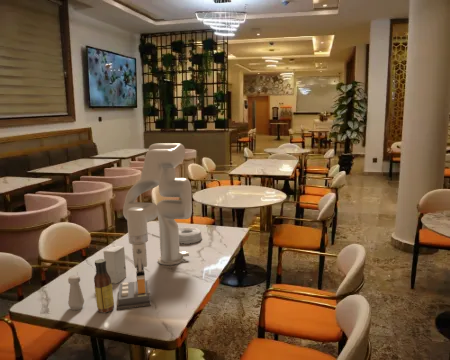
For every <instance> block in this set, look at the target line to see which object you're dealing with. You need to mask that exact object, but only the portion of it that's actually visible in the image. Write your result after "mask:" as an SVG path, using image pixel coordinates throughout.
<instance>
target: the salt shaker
mask: <svg viewBox="0 0 450 360" xmlns="http://www.w3.org/2000/svg"><path fill="white" fill-rule="evenodd" d="M80 281H81V276H80V275H78V274H75V275H74V274H72V275H71V276H69V277H68V279H67V283H68V284H70V285H69V293H68V294H69V295H68V302H67V303H68V306H69V308H70V310H71V311H75V312H76V311H78V310H81V309H82V308H83V307H84V304H85V298H84V295H83V292H82V289H81V285H80Z"/></svg>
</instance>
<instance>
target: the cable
mask: <svg viewBox="0 0 450 360" xmlns="http://www.w3.org/2000/svg"><path fill="white" fill-rule="evenodd" d="M178 228H179V244H182V243H184V244H185V245H189V244H190V243H191V244H194V243H198V242H200V241H202V239H203V235H202V231H201V229H199V228H196V227H191V226H190V227H185V226H181V227H178ZM184 244H183V245H184ZM191 244H190V245H191Z"/></svg>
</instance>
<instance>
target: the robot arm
mask: <svg viewBox="0 0 450 360" xmlns="http://www.w3.org/2000/svg"><path fill="white" fill-rule="evenodd" d="M185 157H186V147H185V146H184V144H182V143H176V142H175V143H171V142H167V143H166V142H165V143H163V142H162V143H161V142H160V143H159V142H158V143H153V144H151V145H149V146H148V151H147V152H146V153H145V156H144V161H143V166H142V170H141V176H140V179H138V181H136V182H135V183H134V184H133V185H132V186H131V187H130V189H129V190H128V191H127V193H126V194H125V198H124V204H123V207H122V208H123V209H122V213H123V217H124V218H125V220H126V222H127V232H128V234H127V235H128V236H127V237H128V244H131V246H132V247H131V248H132V259H133V264H134V268H135V269H136V271H135V272H136V277H137V276H143V275H145V269H144V268H147V267H148V258H147V255H148V254H147V244H146V243H147V242H148V241H149V236H148V223H149V222H152V221H154V220H156V218H157V219H158V228H159V230H158V231H159V247H160V248H159V249H160V250H159V251H160V256H159V257H158V258H157V263H158V264H160V265H163V266H173V265H174V266H175V265H178V264H180V263H182V262H183V260H184V257H190V253H189V252H188V251H187V252H186V251H181V250H180V243H179V228H180V227H179V225H178V222H177V221H176V220H188V219H190V218H191V217H192V215H193V214H192V213H193V210H192V209H193V205H192V204H193V201H192V195H193V194H192V184H191V181H190V180H189V179H188V178H185V177H177V176H176V175H177V174H176V172H177V171H176V167H178V166H179V165H180V164H181V163H182V162H183V161H184V159H185ZM156 187H158V192H159V195H160V196H161V197H164V198H179V199H162V200H160V201H158V202H157V203H154V202H139V201H138V202H136V200H137V198H138V197H139V196H140V195H142V194H143V193H146V192H148V191H150V190H152V189H154V188H156ZM145 276H146V275H145Z"/></svg>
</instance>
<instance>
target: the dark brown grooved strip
mask: <svg viewBox="0 0 450 360" xmlns="http://www.w3.org/2000/svg"><path fill="white" fill-rule="evenodd" d="M148 306H149V307H150V306H151V300H150V301H148V302H140V303H132V304H124V305H119V304H118V305H117V310H125V309H133V308H140V307H148Z"/></svg>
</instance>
